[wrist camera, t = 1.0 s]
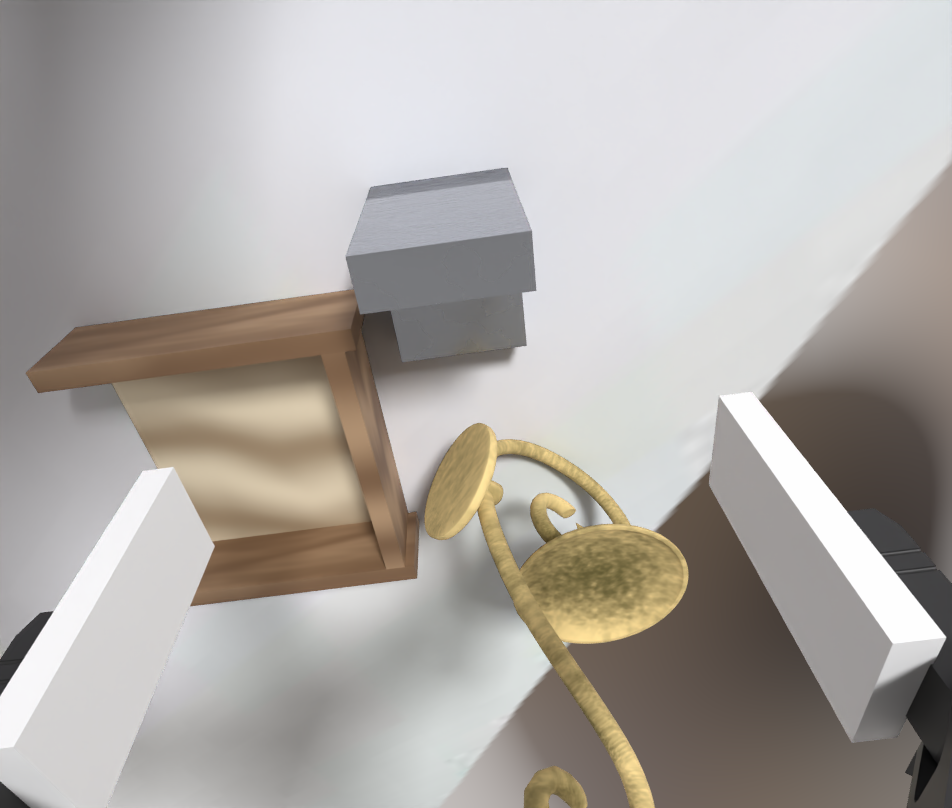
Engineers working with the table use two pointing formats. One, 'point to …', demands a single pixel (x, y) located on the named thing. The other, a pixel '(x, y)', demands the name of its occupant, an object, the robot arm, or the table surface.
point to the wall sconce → (564, 584)
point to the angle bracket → (445, 263)
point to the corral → (261, 438)
